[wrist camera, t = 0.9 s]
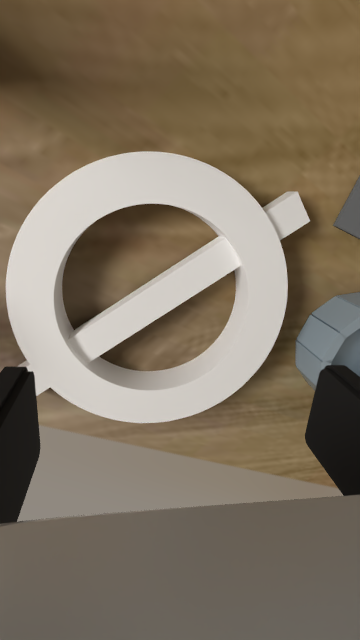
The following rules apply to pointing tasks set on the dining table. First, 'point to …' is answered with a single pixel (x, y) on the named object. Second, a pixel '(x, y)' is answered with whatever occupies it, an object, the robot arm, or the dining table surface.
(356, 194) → the mat
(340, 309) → the bowl
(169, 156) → the ring with crossbar
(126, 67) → the dining table surface
